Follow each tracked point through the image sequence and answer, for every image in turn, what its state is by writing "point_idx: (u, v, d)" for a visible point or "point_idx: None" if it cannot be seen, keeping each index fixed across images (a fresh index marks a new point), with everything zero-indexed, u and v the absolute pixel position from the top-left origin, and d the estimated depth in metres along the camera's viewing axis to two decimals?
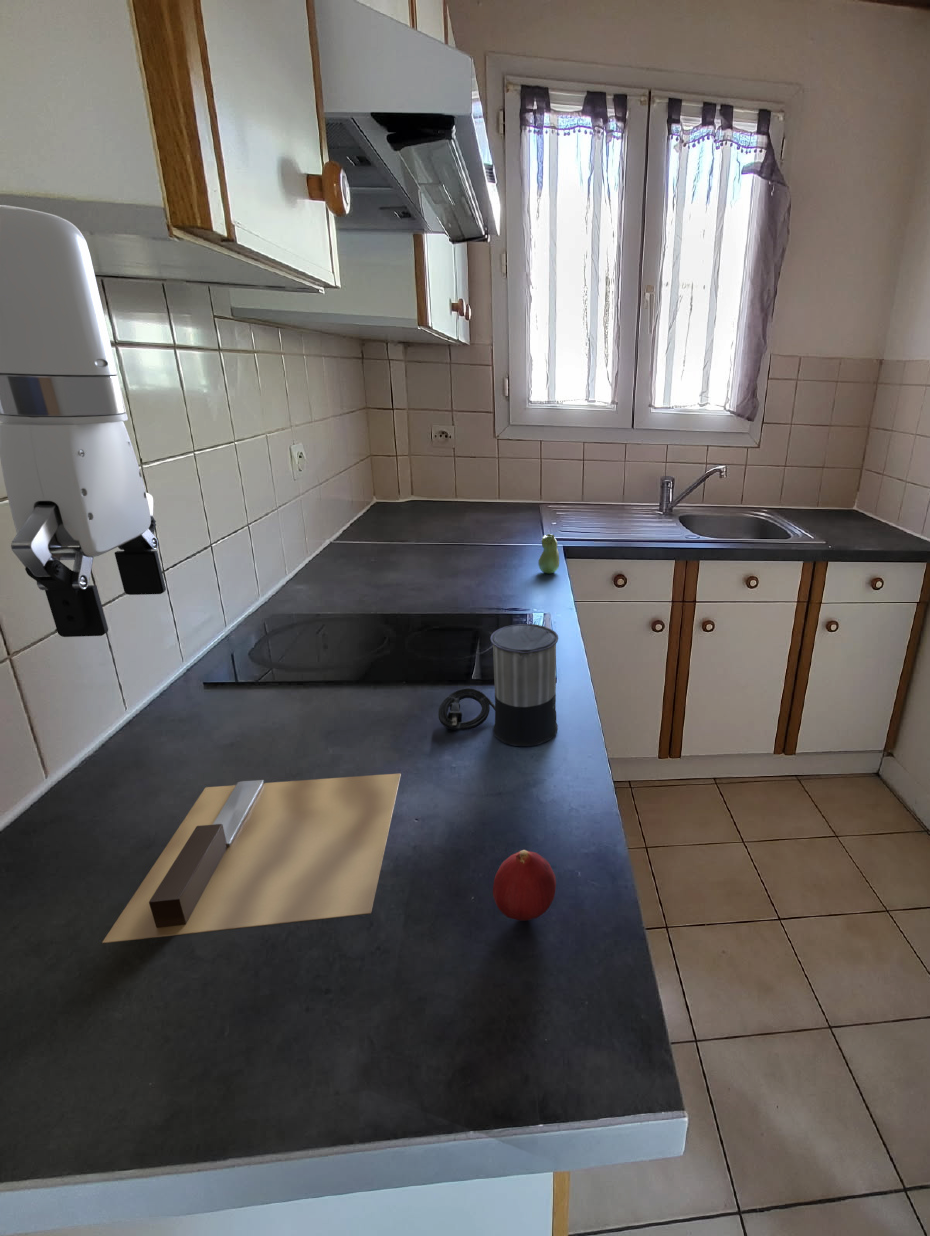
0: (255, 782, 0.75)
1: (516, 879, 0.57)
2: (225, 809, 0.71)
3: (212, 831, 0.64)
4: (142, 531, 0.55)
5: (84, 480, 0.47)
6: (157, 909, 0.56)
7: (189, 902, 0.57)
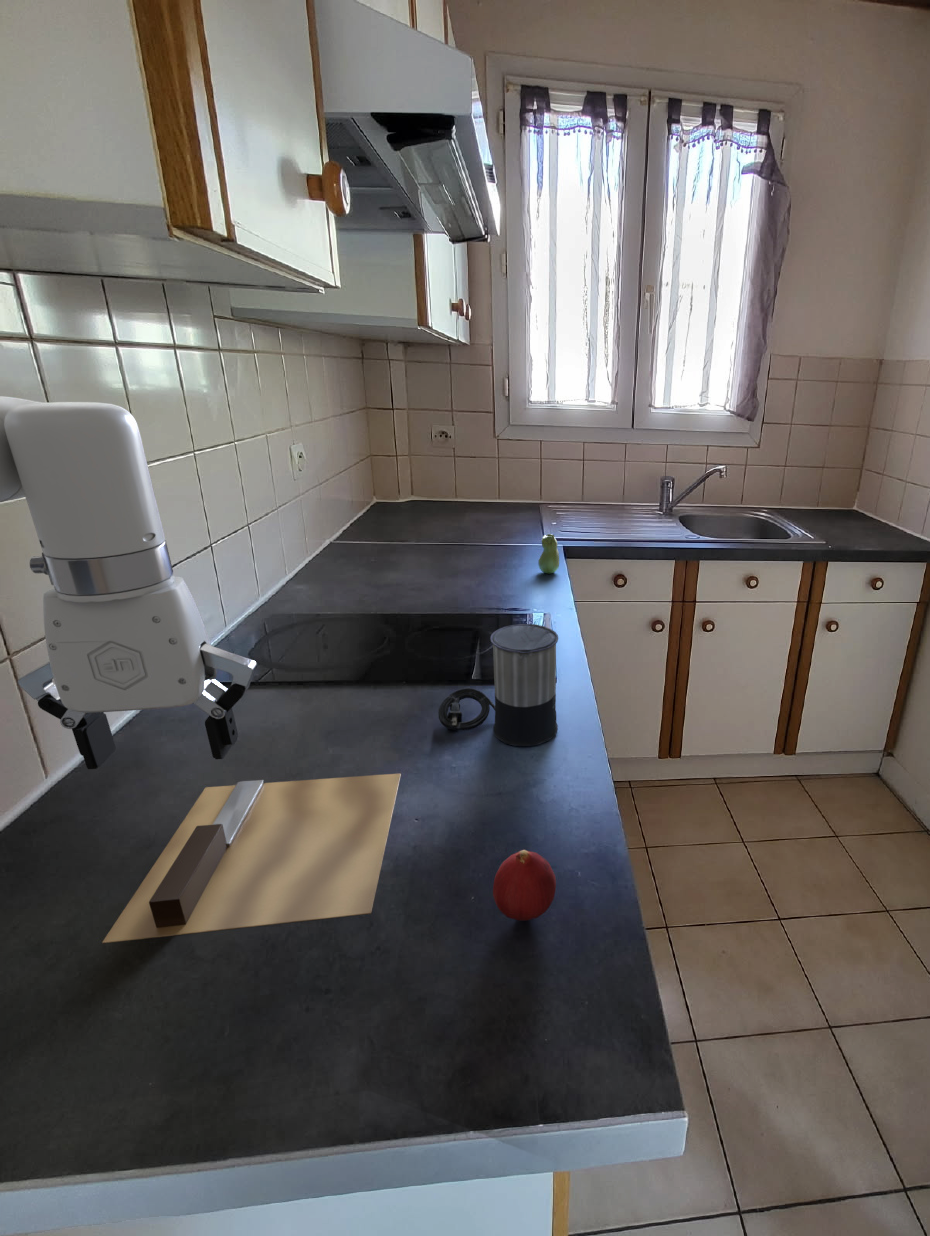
0: (255, 782, 0.75)
1: (516, 879, 0.57)
2: (225, 809, 0.71)
3: (212, 831, 0.64)
4: None
5: None
6: (157, 909, 0.56)
7: (189, 902, 0.57)
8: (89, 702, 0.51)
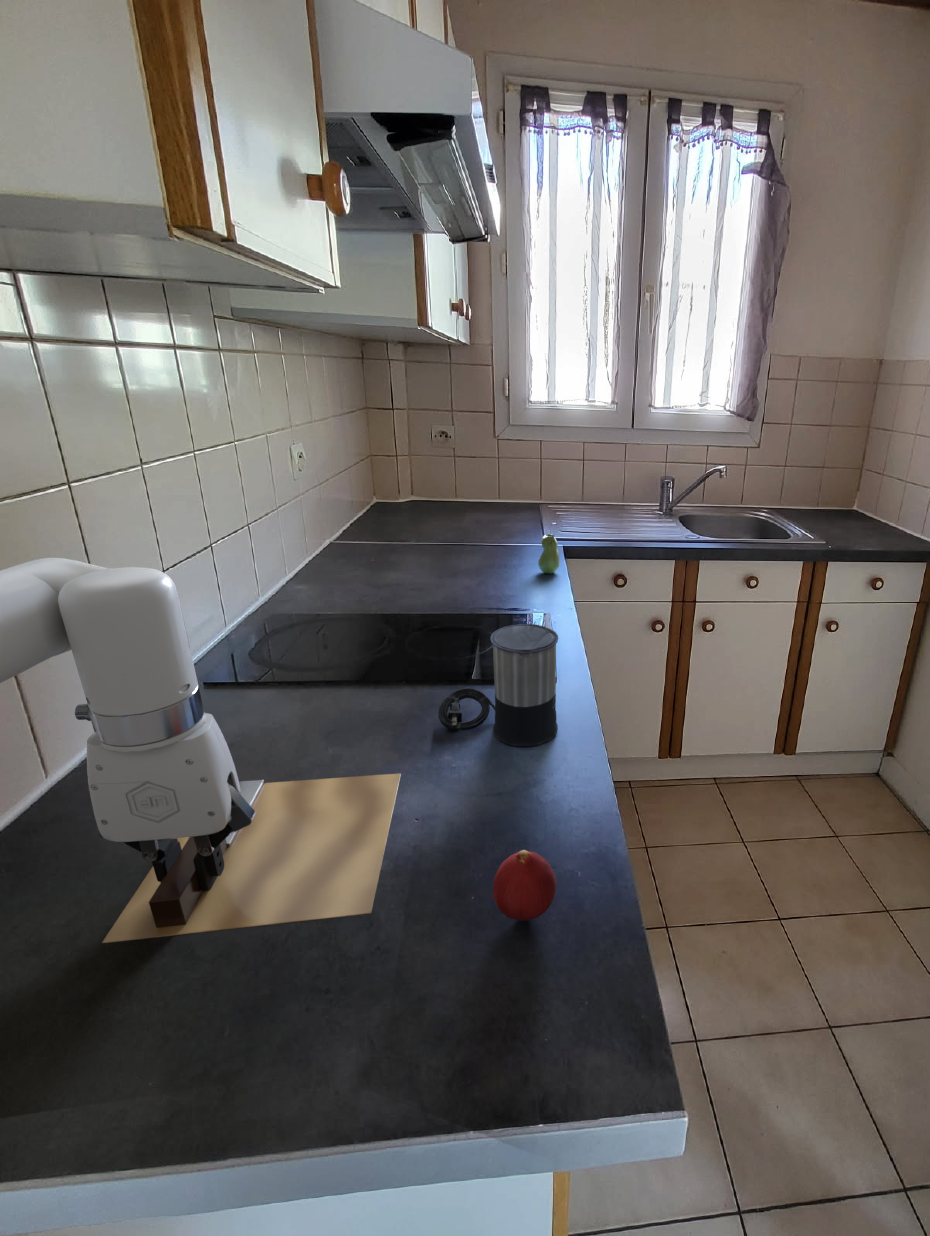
0: (255, 782, 0.75)
1: (516, 879, 0.57)
2: None
3: None
4: None
5: None
6: (157, 909, 0.56)
7: (189, 902, 0.57)
8: (126, 834, 0.55)
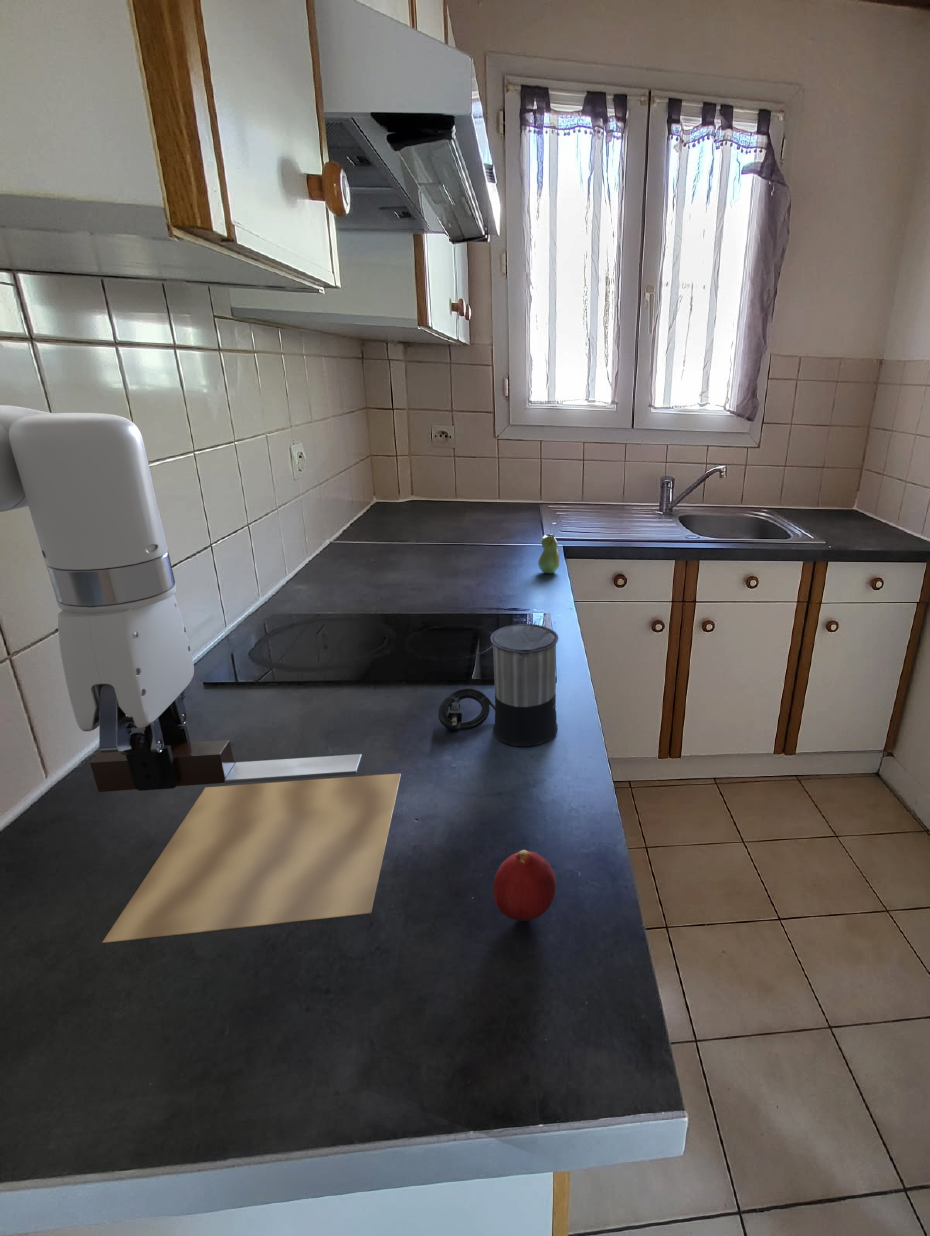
0: (352, 766, 0.59)
1: (516, 879, 0.57)
2: (301, 760, 0.59)
3: (207, 752, 0.56)
4: (187, 684, 0.57)
5: (138, 660, 0.49)
6: None
7: (111, 778, 0.54)
8: None
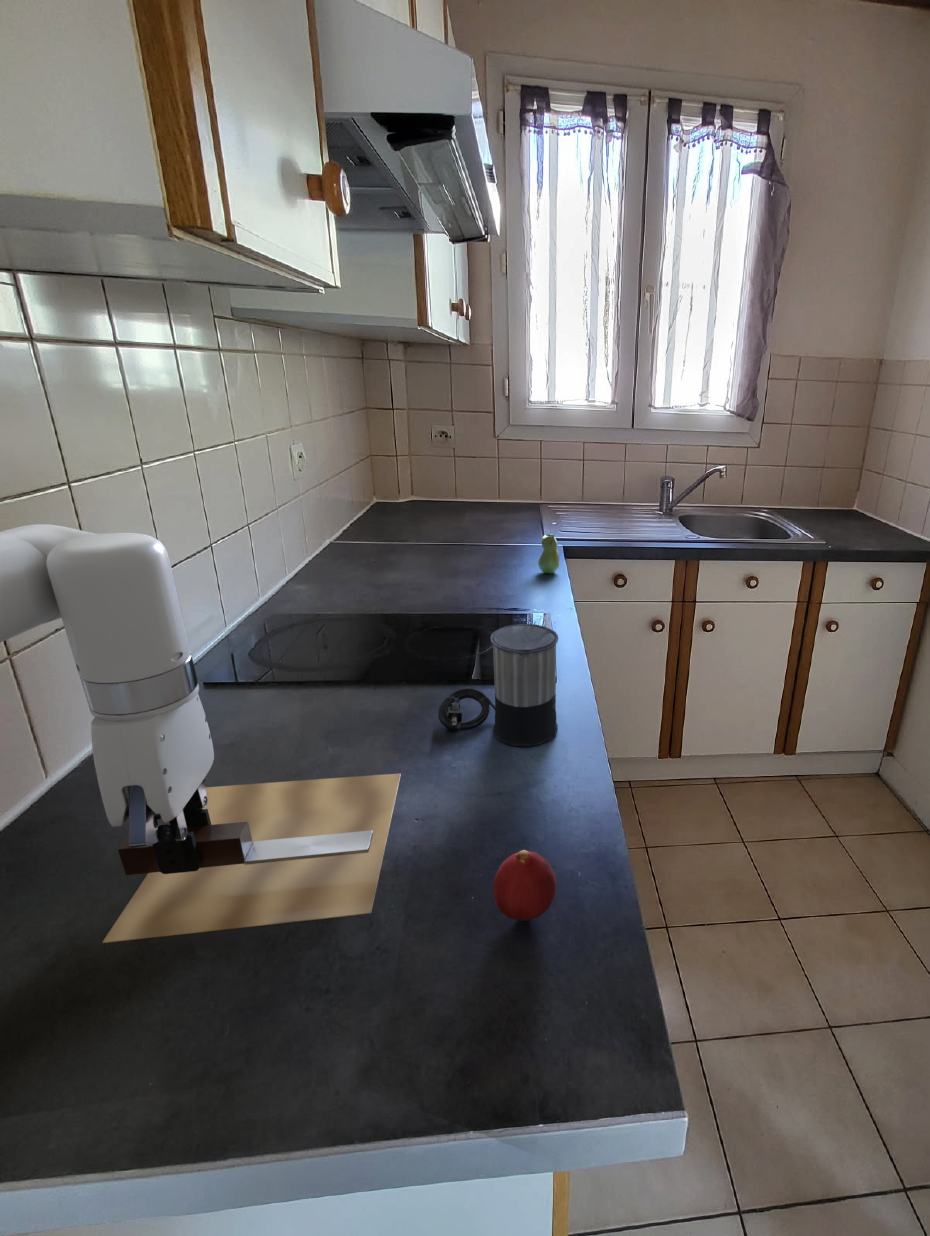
0: (364, 844, 0.62)
1: (516, 879, 0.57)
2: (316, 838, 0.63)
3: (228, 835, 0.59)
4: (208, 770, 0.60)
5: (165, 761, 0.52)
6: None
7: (138, 862, 0.58)
8: None
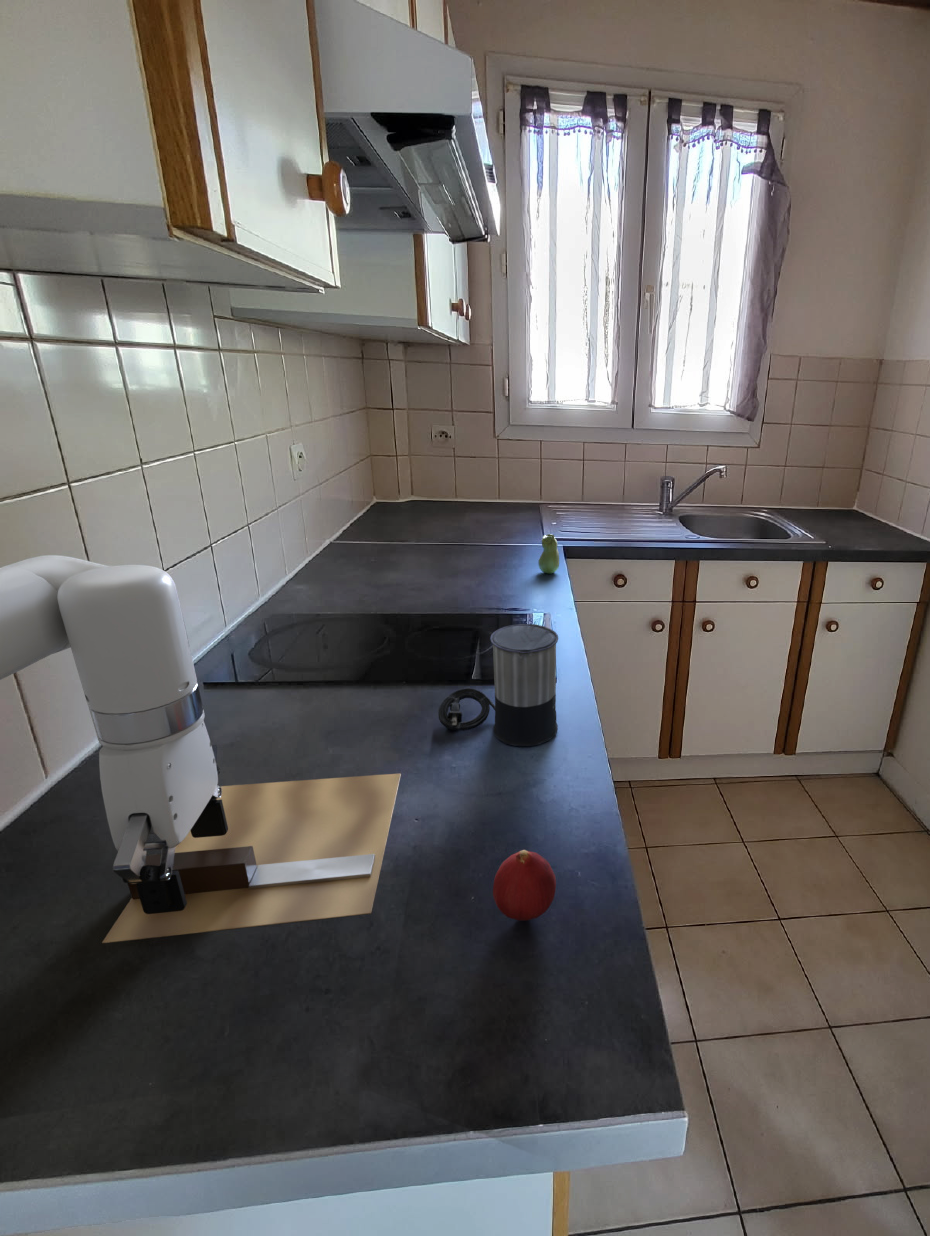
0: (366, 868, 0.63)
1: (516, 879, 0.57)
2: (319, 861, 0.64)
3: (233, 860, 0.60)
4: (212, 794, 0.61)
5: (171, 788, 0.53)
6: None
7: None
8: None
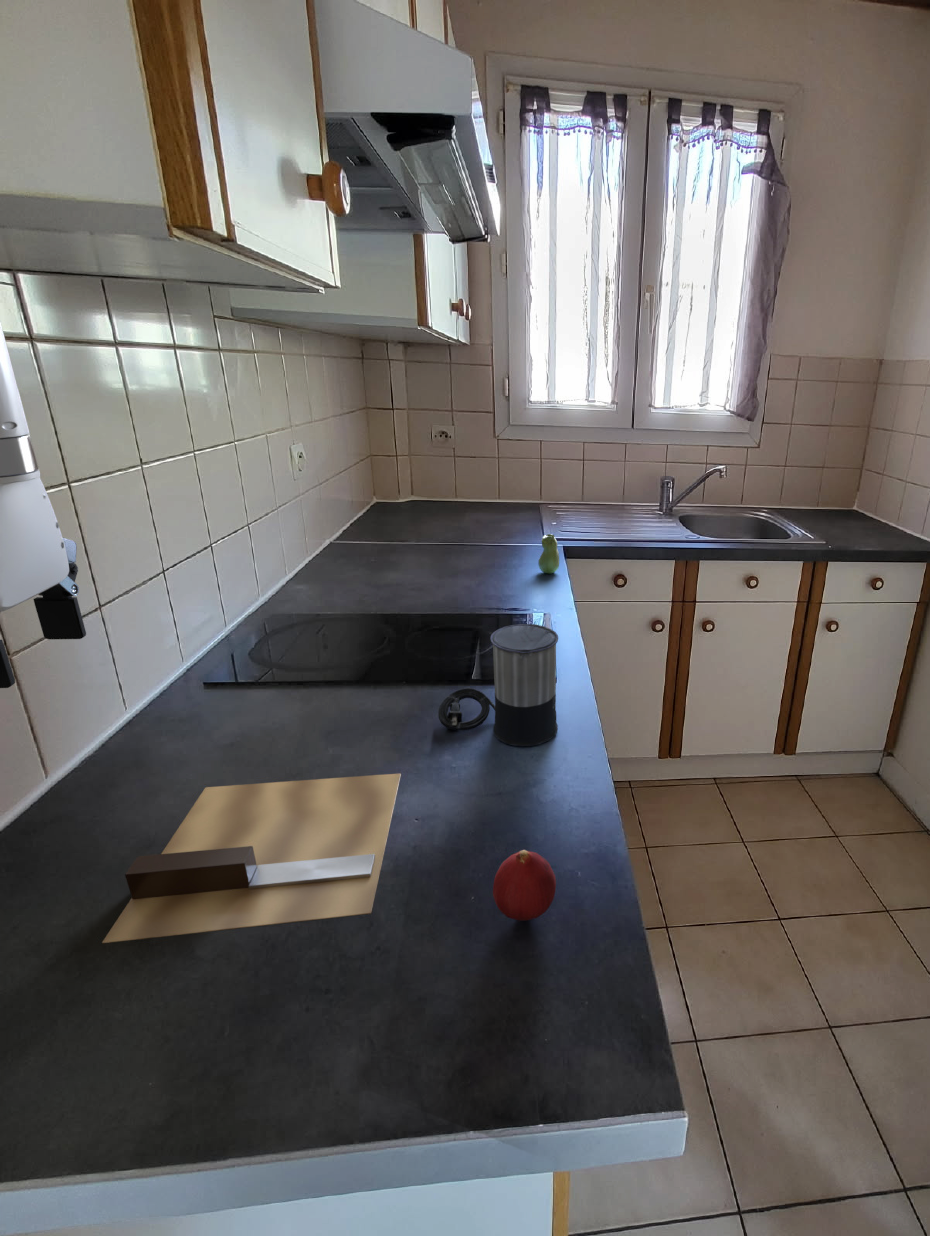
0: (366, 868, 0.63)
1: (516, 879, 0.57)
2: (319, 861, 0.64)
3: (233, 860, 0.60)
4: (58, 580, 0.56)
5: None
6: None
7: (144, 887, 0.59)
8: None
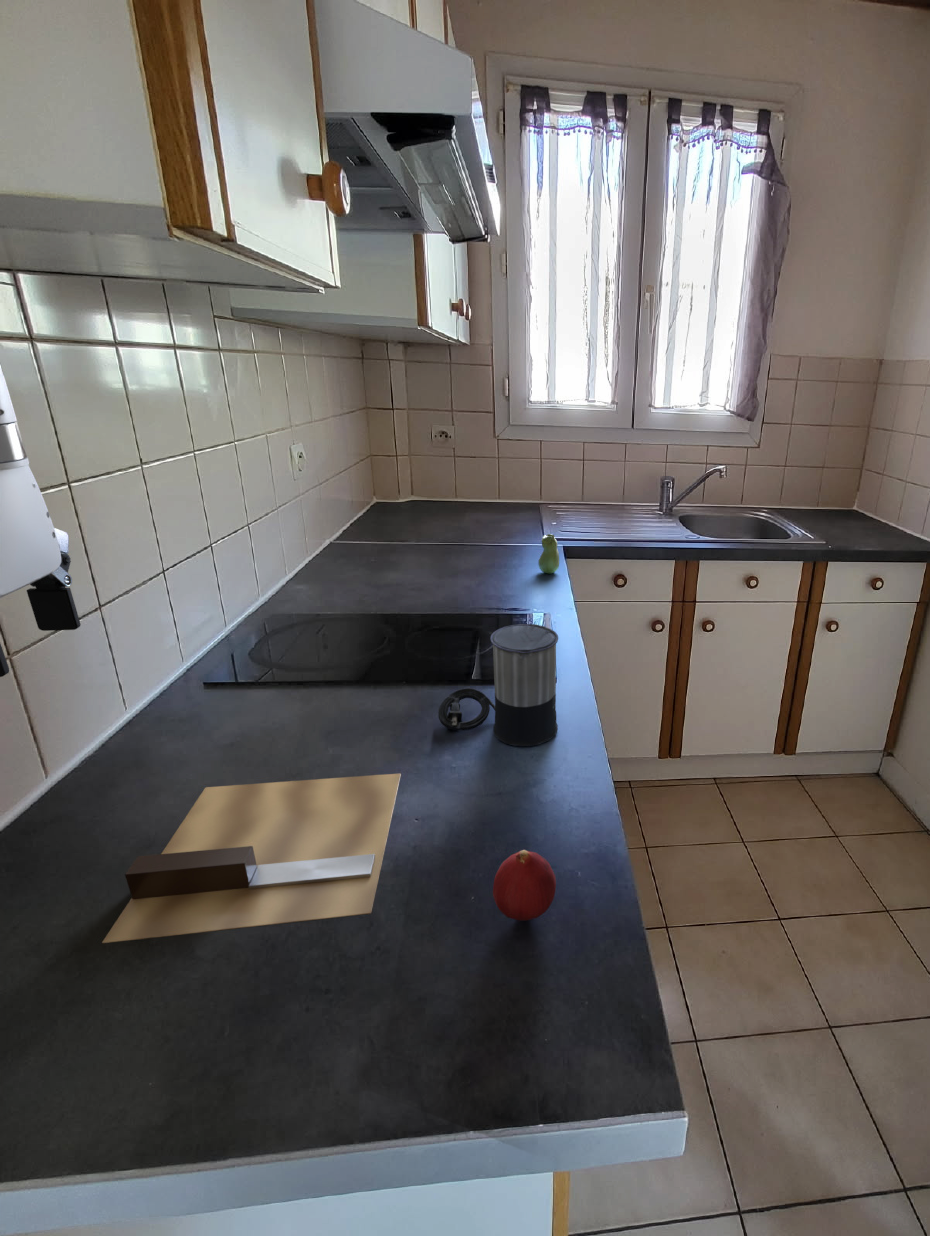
0: (366, 868, 0.63)
1: (516, 879, 0.57)
2: (319, 861, 0.64)
3: (233, 860, 0.60)
4: (51, 570, 0.56)
5: None
6: None
7: (144, 887, 0.59)
8: None
